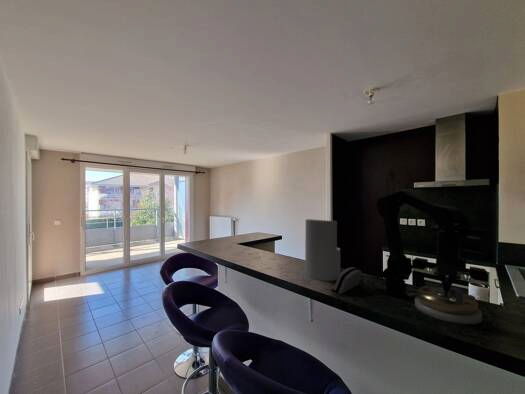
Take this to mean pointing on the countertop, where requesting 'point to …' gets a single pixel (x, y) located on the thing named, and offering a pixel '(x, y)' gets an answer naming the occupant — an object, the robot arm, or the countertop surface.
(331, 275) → the cylinder
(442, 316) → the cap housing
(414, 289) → the countertop surface
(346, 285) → the dark grey curved piece
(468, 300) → the shallow round tray
